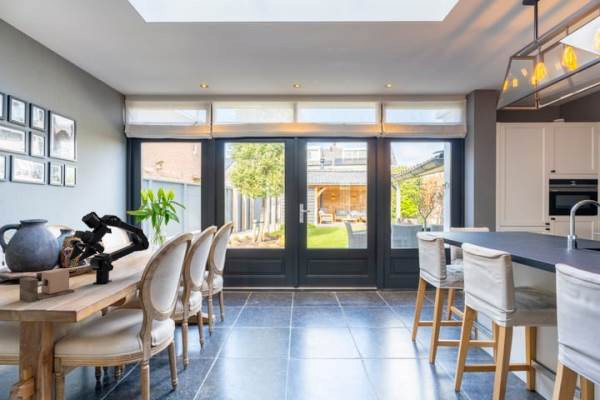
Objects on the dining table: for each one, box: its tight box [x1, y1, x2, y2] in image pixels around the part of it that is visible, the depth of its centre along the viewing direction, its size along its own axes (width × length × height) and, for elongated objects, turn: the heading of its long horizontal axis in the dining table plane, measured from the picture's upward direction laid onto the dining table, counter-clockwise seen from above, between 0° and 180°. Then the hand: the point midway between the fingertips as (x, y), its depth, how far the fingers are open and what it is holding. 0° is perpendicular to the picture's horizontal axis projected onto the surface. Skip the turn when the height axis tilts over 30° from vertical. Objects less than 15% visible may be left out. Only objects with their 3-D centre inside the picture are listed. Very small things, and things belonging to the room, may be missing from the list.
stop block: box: [19, 276, 75, 303], centre depth 147 cm, size 18×9×9 cm, turn 157°
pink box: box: [40, 268, 70, 294], centre depth 150 cm, size 8×6×9 cm
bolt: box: [38, 280, 48, 288], centre depth 144 cm, size 6×2×2 cm, turn 157°
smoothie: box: [63, 247, 78, 267], centre depth 192 cm, size 8×8×20 cm
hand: (74, 260), depth 157 cm, fingers open, 6 cm apart
